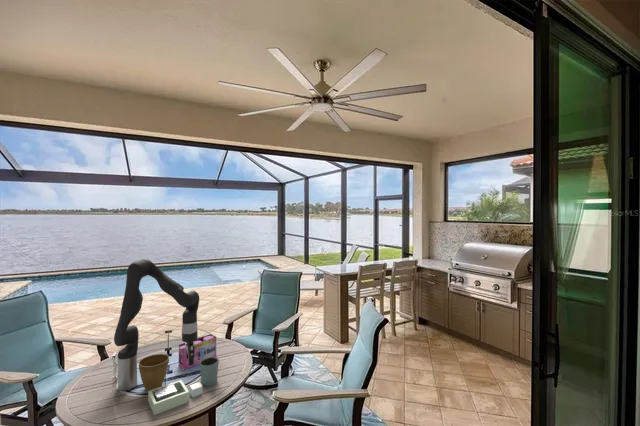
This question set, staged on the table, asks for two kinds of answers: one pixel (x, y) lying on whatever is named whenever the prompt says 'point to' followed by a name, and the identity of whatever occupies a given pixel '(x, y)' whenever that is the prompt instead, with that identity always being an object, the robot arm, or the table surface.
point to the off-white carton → (195, 389)
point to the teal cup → (209, 371)
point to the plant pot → (153, 370)
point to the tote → (169, 402)
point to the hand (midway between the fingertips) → (189, 361)
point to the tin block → (165, 393)
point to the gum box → (198, 351)
